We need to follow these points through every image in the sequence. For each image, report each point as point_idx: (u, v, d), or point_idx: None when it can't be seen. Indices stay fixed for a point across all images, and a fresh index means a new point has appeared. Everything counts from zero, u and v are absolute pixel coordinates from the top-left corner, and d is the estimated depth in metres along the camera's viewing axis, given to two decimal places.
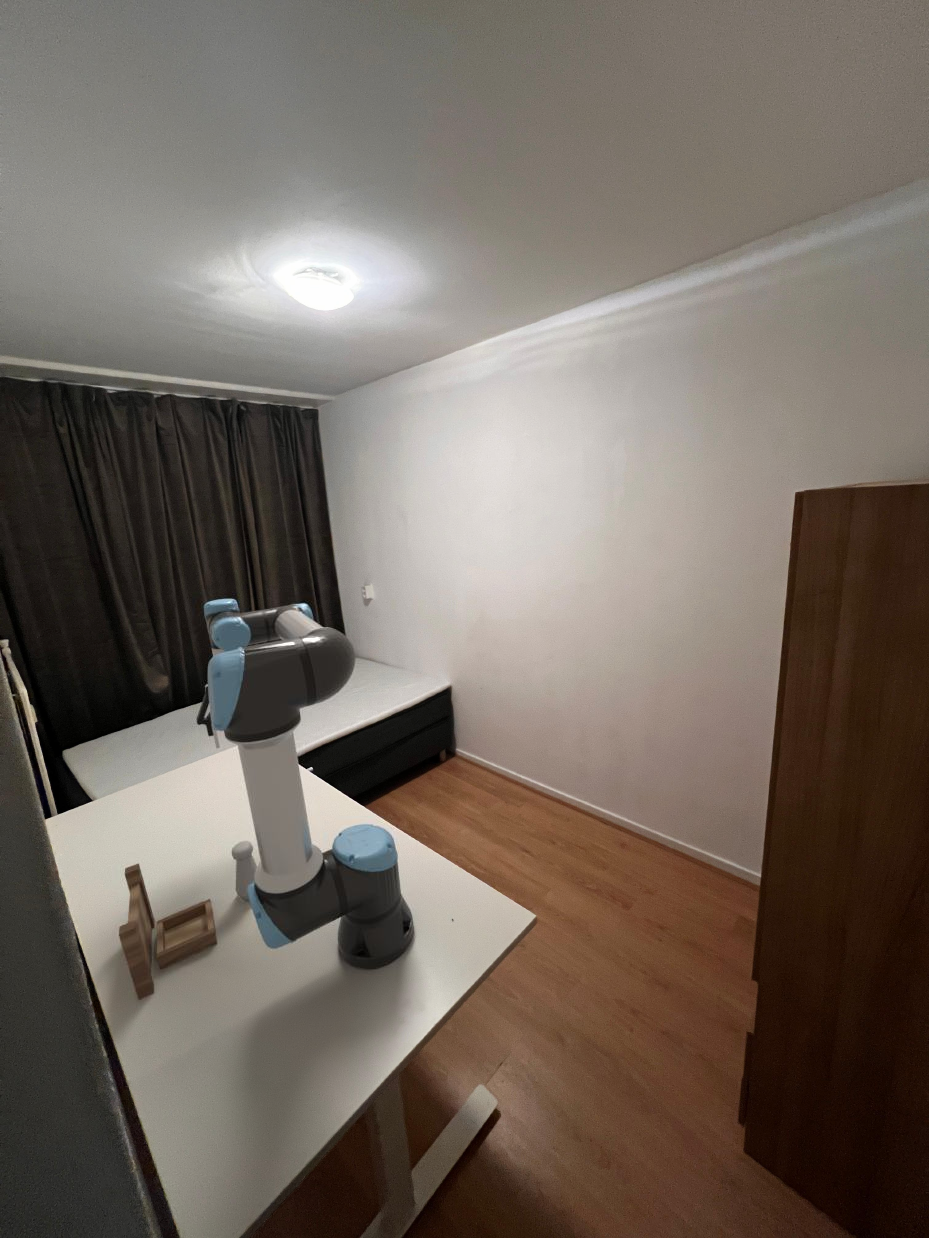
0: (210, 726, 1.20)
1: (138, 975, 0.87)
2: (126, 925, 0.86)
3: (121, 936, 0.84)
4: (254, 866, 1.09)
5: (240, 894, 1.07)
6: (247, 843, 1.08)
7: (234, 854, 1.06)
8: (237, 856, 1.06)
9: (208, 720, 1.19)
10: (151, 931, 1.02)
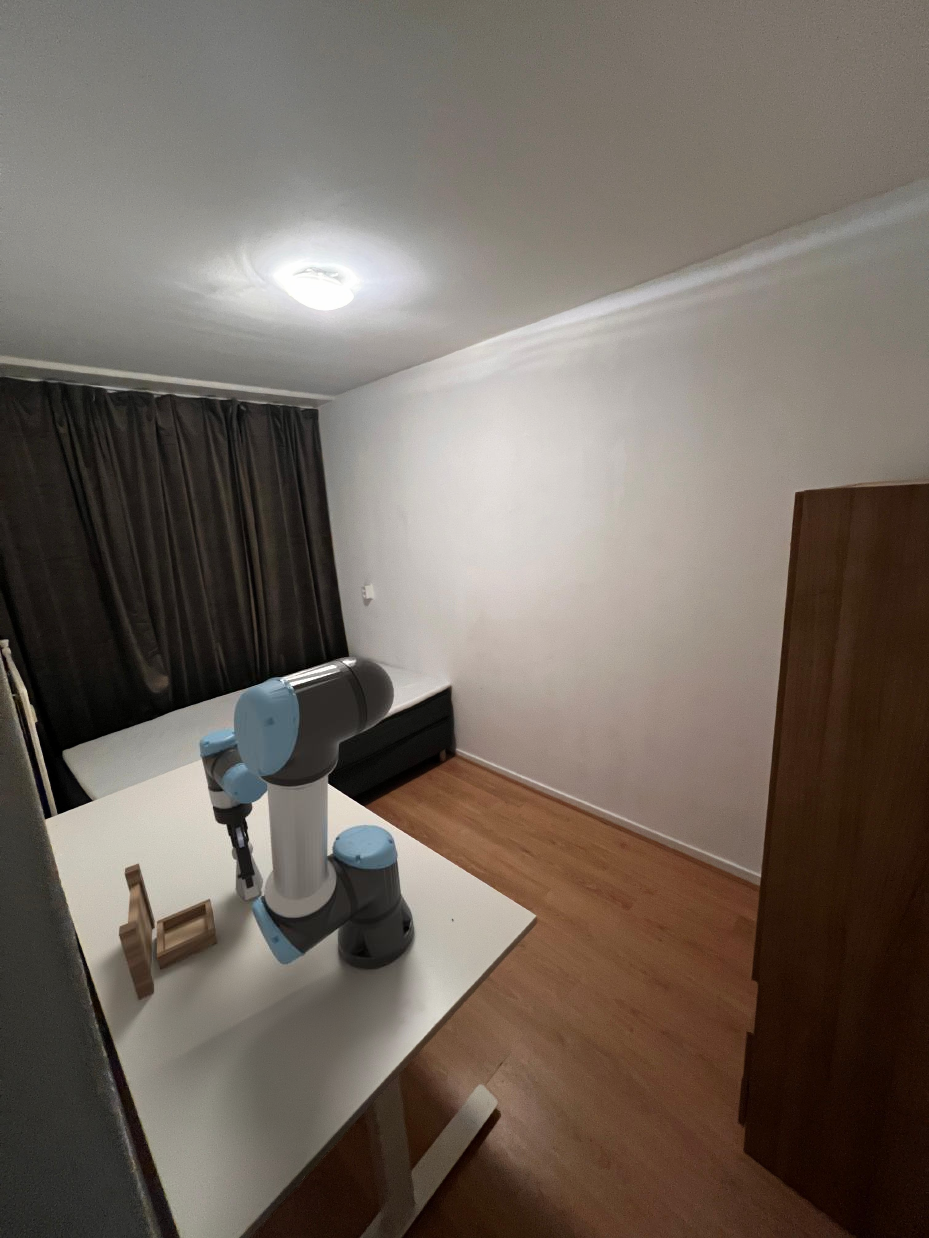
0: None
1: (138, 975, 0.87)
2: (126, 925, 0.86)
3: (121, 936, 0.84)
4: (254, 866, 1.09)
5: (240, 894, 1.07)
6: None
7: (234, 854, 1.06)
8: None
9: None
10: (151, 931, 1.02)
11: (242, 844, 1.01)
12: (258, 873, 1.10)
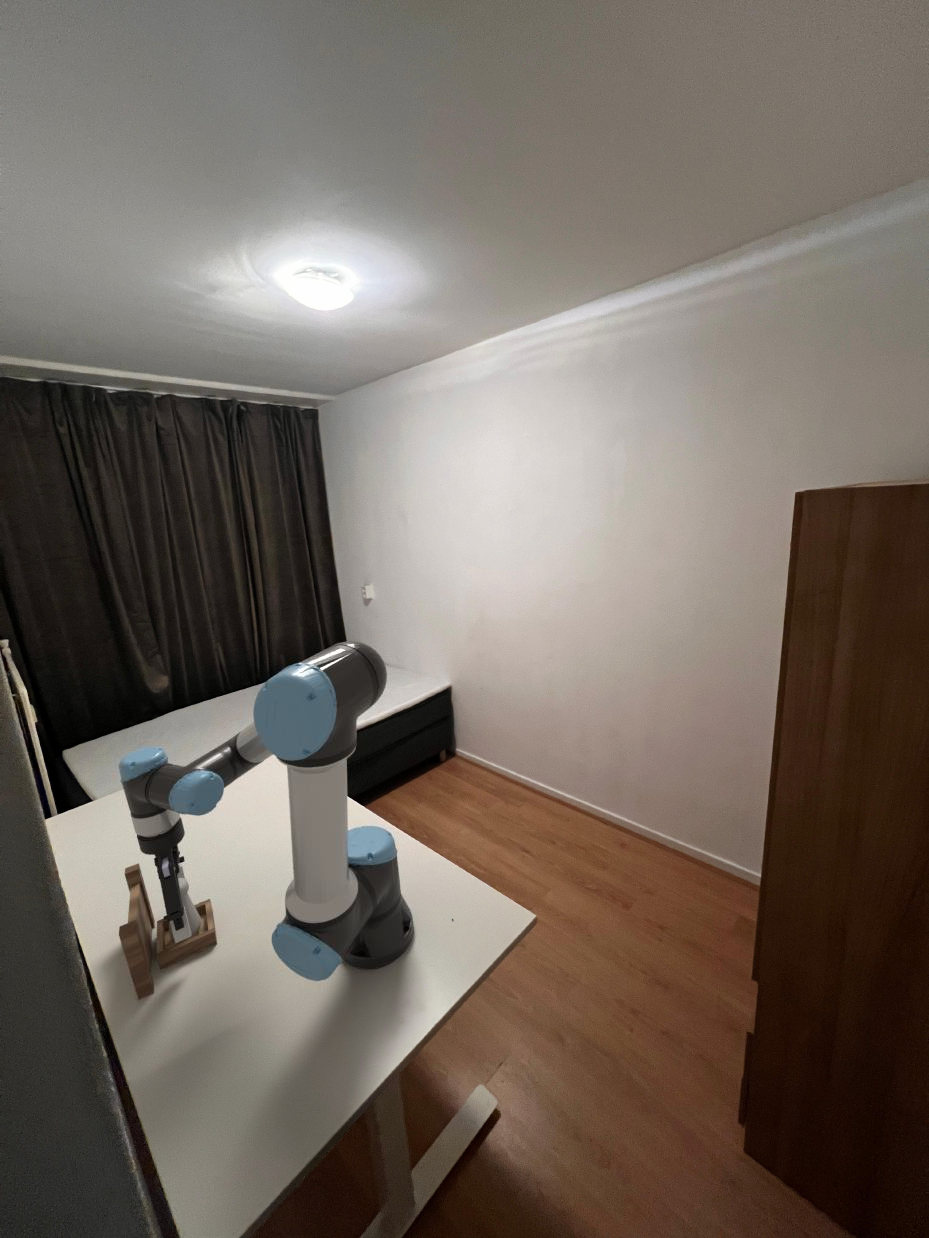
0: None
1: (138, 975, 0.87)
2: (126, 925, 0.86)
3: (121, 936, 0.84)
4: (190, 906, 0.98)
5: (173, 937, 0.97)
6: (182, 881, 0.97)
7: None
8: None
9: None
10: (151, 931, 1.02)
11: (167, 872, 0.89)
12: (195, 913, 0.99)
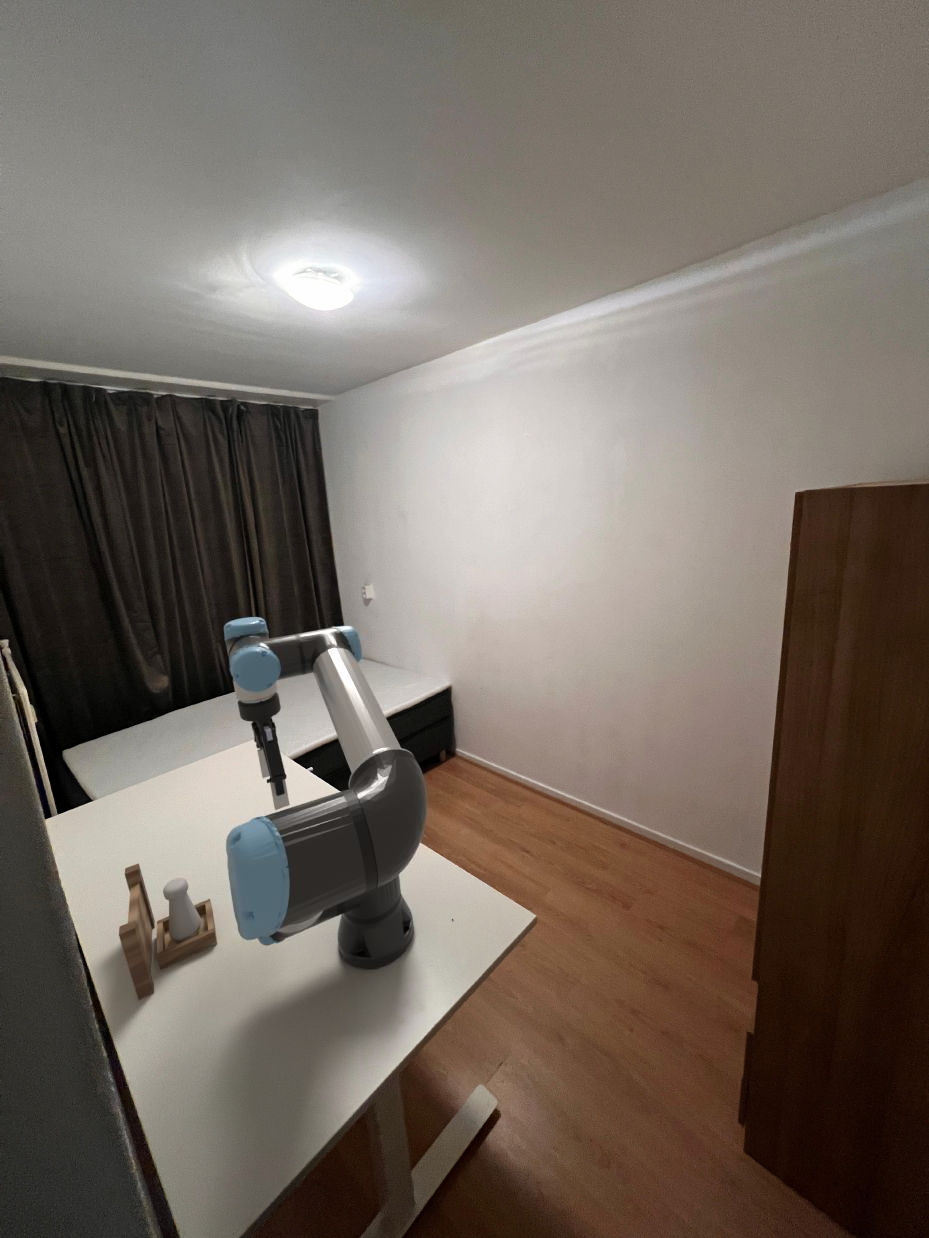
0: None
1: (138, 975, 0.87)
2: (126, 925, 0.86)
3: (121, 936, 0.84)
4: (190, 906, 0.98)
5: (173, 937, 0.97)
6: (181, 880, 0.97)
7: (165, 893, 0.95)
8: (169, 896, 0.95)
9: (256, 743, 1.04)
10: (151, 931, 1.02)
11: (270, 735, 0.91)
12: (195, 913, 0.99)
